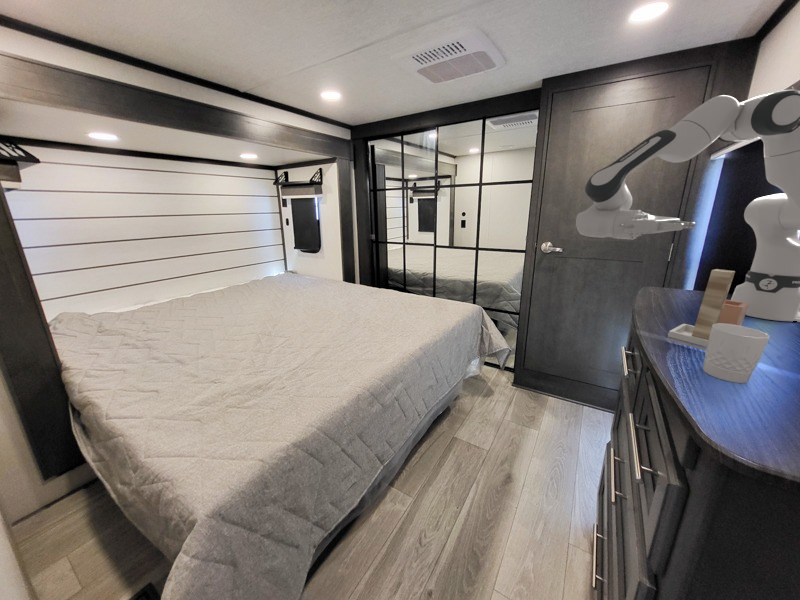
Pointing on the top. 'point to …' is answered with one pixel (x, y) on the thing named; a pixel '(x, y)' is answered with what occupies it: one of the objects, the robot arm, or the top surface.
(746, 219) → the robot arm
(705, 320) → the birch stick
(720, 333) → the white cup
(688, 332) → the grey tray
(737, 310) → the terracotta cup
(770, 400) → the top surface
